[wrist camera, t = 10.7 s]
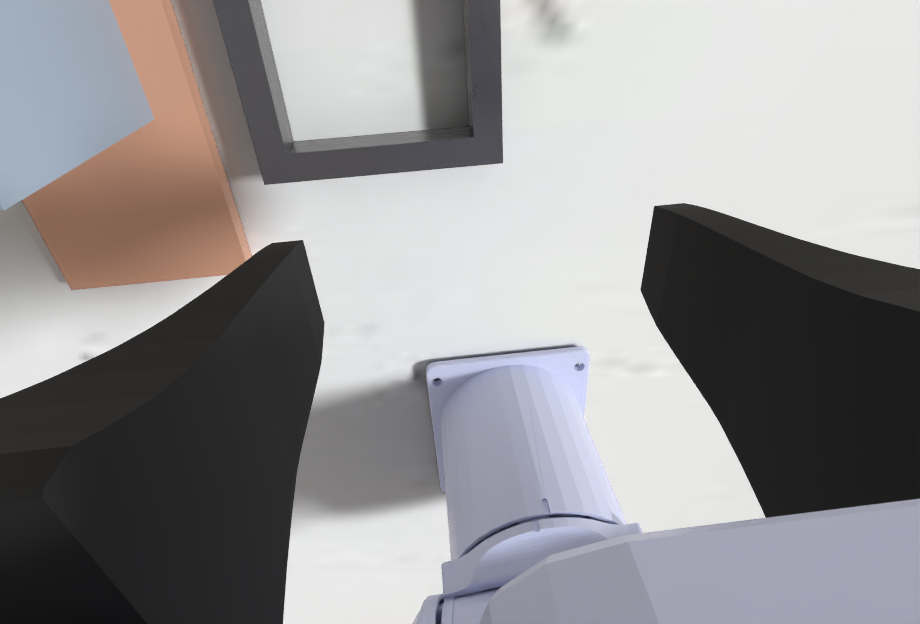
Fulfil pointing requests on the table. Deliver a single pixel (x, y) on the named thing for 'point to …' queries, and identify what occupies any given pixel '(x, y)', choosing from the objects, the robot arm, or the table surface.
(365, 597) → the table surface
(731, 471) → the table surface
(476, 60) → the iron collar
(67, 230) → the terracotta tile
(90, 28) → the metal peg
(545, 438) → the robot arm
